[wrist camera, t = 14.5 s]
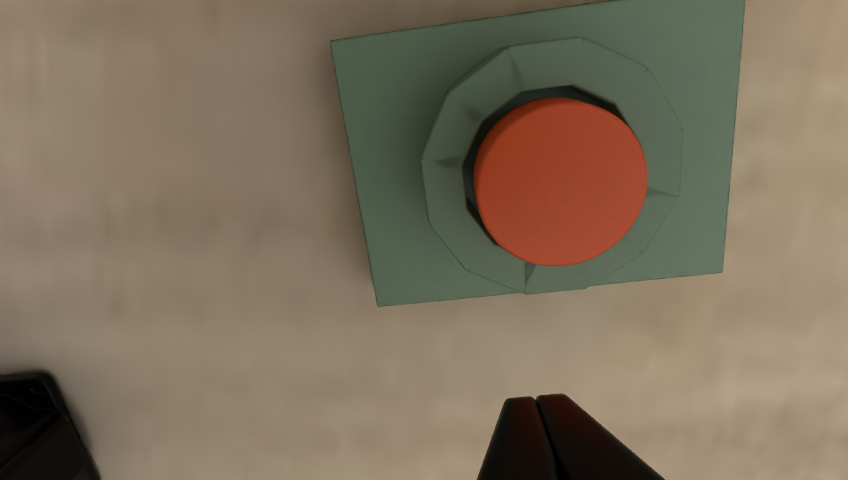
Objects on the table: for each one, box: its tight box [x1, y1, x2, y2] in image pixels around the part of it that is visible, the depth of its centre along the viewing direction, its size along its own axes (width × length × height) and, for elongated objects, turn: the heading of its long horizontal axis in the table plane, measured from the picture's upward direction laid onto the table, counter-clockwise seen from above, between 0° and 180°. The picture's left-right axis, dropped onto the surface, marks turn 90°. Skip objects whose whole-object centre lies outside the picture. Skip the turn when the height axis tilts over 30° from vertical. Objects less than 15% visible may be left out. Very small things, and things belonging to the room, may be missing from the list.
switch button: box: [473, 97, 648, 266], centre depth 14 cm, size 4×4×2 cm
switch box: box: [330, 0, 745, 307], centre depth 16 cm, size 12×9×4 cm
